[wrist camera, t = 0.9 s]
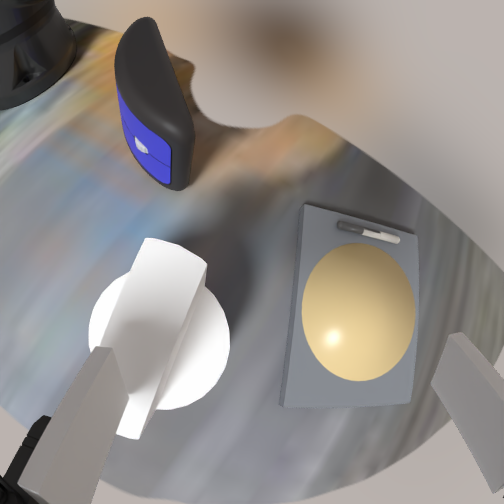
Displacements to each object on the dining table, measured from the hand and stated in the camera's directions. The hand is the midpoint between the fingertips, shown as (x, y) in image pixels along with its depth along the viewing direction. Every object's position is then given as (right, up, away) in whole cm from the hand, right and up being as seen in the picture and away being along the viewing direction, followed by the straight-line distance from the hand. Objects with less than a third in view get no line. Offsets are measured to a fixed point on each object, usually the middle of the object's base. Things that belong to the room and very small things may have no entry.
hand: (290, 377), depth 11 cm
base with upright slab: (-8, -2, +13) cm, 15 cm away
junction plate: (+9, -1, +17) cm, 19 cm away
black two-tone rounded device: (-11, +17, +18) cm, 27 cm away
